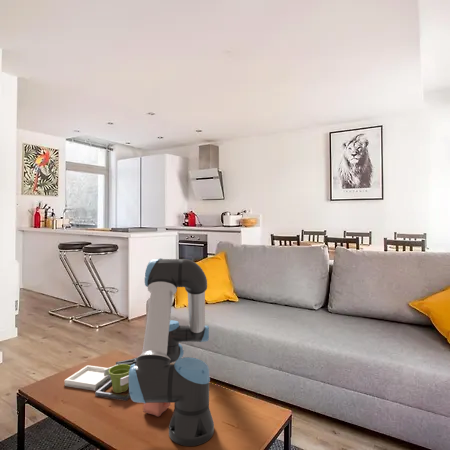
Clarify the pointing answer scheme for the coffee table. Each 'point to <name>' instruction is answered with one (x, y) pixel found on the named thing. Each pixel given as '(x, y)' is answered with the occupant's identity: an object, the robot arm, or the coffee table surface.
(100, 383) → the tray
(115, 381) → the plant pot
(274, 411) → the coffee table surface
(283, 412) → the coffee table surface
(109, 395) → the grey square frame
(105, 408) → the coffee table surface
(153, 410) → the pink cube teapot
